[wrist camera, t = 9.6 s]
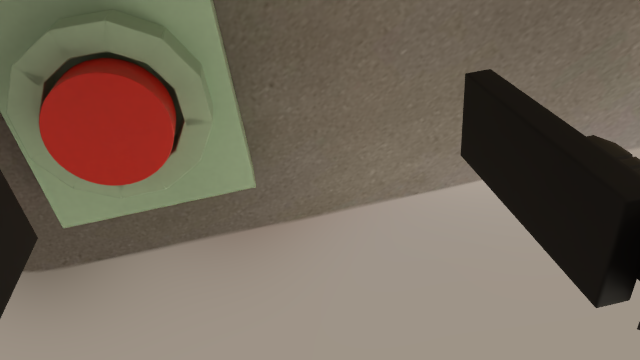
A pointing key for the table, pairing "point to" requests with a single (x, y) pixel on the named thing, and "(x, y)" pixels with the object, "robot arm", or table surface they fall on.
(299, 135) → the table surface
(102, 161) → the button
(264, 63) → the table surface
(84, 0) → the button block
